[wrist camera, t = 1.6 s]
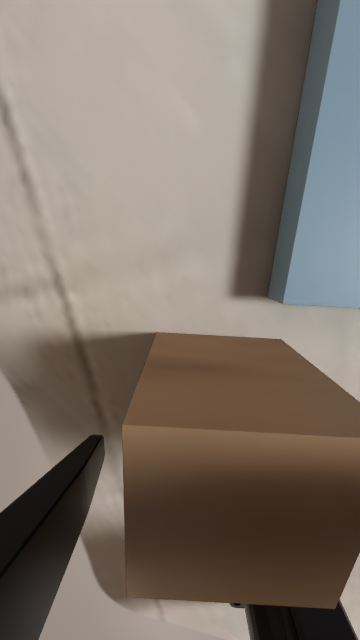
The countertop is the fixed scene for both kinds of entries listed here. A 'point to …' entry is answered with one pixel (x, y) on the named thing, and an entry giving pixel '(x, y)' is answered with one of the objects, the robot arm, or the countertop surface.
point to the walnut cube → (239, 475)
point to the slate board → (324, 171)
